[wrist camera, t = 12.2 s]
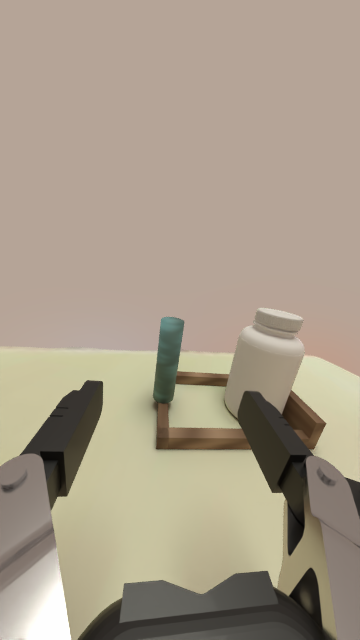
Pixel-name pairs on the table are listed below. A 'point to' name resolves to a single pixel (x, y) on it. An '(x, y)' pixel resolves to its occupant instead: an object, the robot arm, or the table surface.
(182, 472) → the table surface
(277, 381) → the pill bottle
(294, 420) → the brown wooden frame
